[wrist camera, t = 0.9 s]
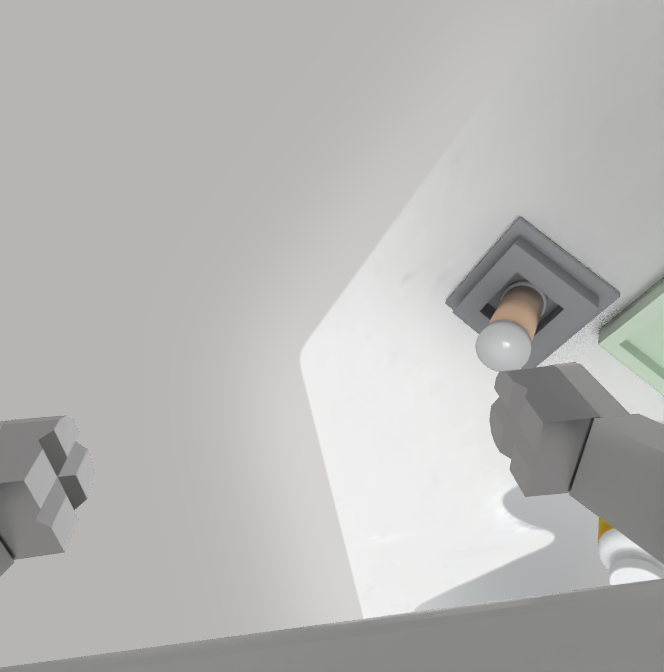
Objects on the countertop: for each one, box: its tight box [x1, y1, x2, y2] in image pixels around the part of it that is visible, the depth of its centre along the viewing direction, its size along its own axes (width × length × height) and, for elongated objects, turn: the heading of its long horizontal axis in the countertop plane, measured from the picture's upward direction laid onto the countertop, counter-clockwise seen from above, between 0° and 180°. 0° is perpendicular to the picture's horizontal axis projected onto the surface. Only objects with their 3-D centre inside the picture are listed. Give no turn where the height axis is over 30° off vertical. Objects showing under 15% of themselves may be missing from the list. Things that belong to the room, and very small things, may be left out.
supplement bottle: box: [598, 517, 664, 585], centre depth 48 cm, size 7×7×13 cm
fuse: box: [476, 280, 548, 372], centre depth 44 cm, size 4×4×12 cm
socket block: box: [445, 217, 620, 369], centre depth 48 cm, size 12×12×4 cm
